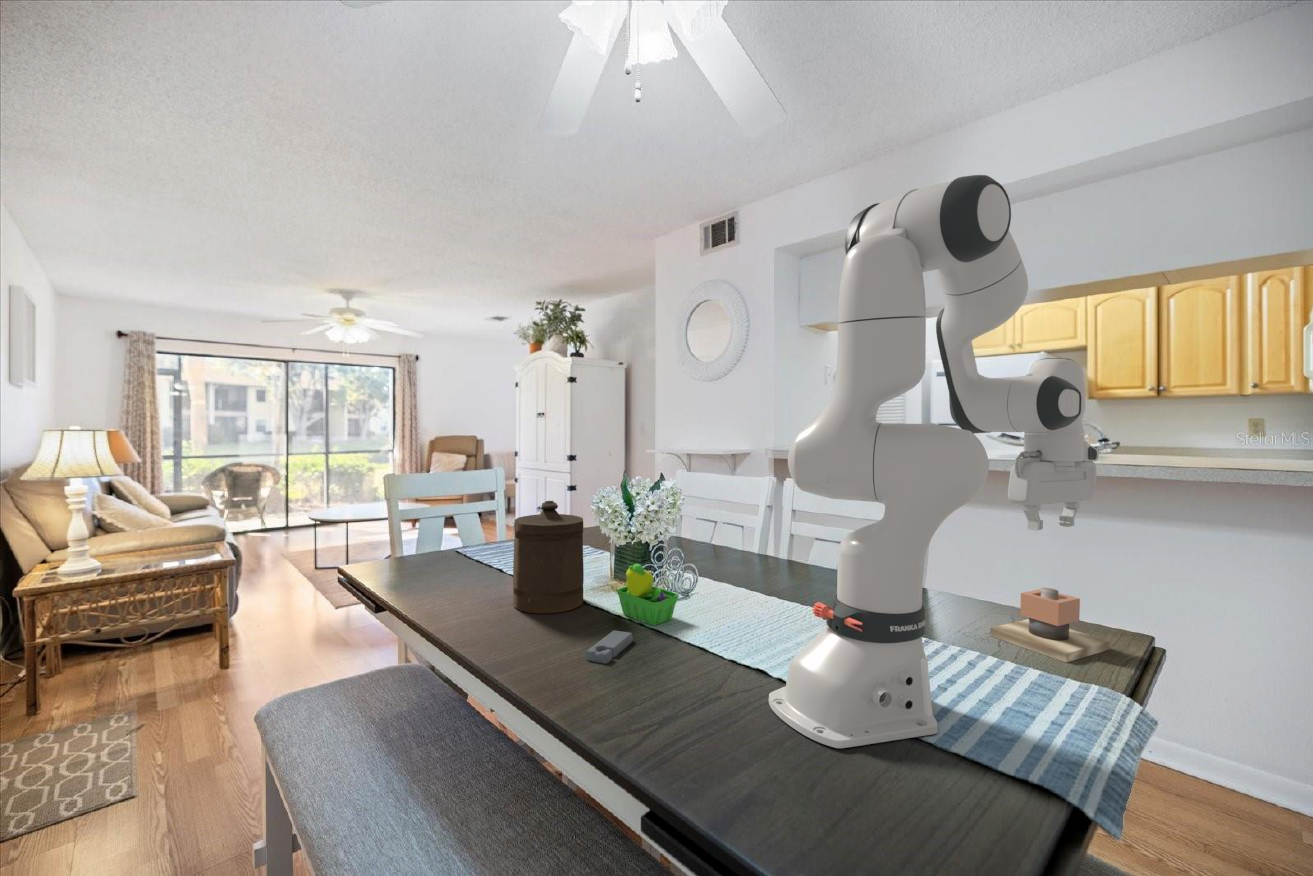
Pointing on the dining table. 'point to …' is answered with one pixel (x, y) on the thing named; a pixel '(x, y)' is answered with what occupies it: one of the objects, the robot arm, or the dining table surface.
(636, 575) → the fruit basket
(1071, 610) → the orange square ring
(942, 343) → the robot arm
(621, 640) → the bracket
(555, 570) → the wooden container
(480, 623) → the dining table surface
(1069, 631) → the pin stand
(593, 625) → the dining table surface
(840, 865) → the dining table surface
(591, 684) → the dining table surface
